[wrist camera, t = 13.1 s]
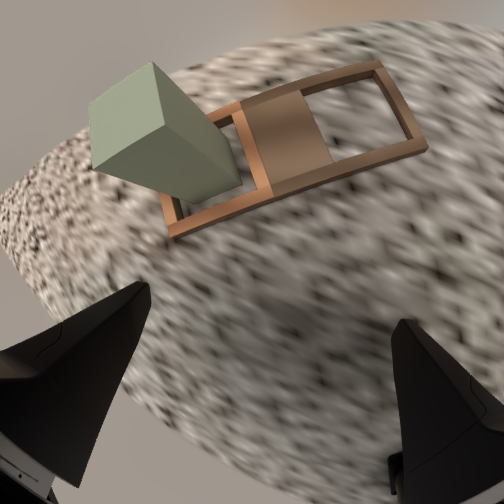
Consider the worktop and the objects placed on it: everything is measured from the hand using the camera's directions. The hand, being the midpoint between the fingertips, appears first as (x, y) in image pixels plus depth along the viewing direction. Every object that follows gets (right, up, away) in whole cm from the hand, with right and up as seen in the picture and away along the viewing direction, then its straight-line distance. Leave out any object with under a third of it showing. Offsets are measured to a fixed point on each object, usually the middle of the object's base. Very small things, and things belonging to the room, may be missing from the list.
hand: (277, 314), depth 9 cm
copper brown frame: (+2, +11, +13) cm, 17 cm away
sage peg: (-4, +9, +14) cm, 17 cm away
